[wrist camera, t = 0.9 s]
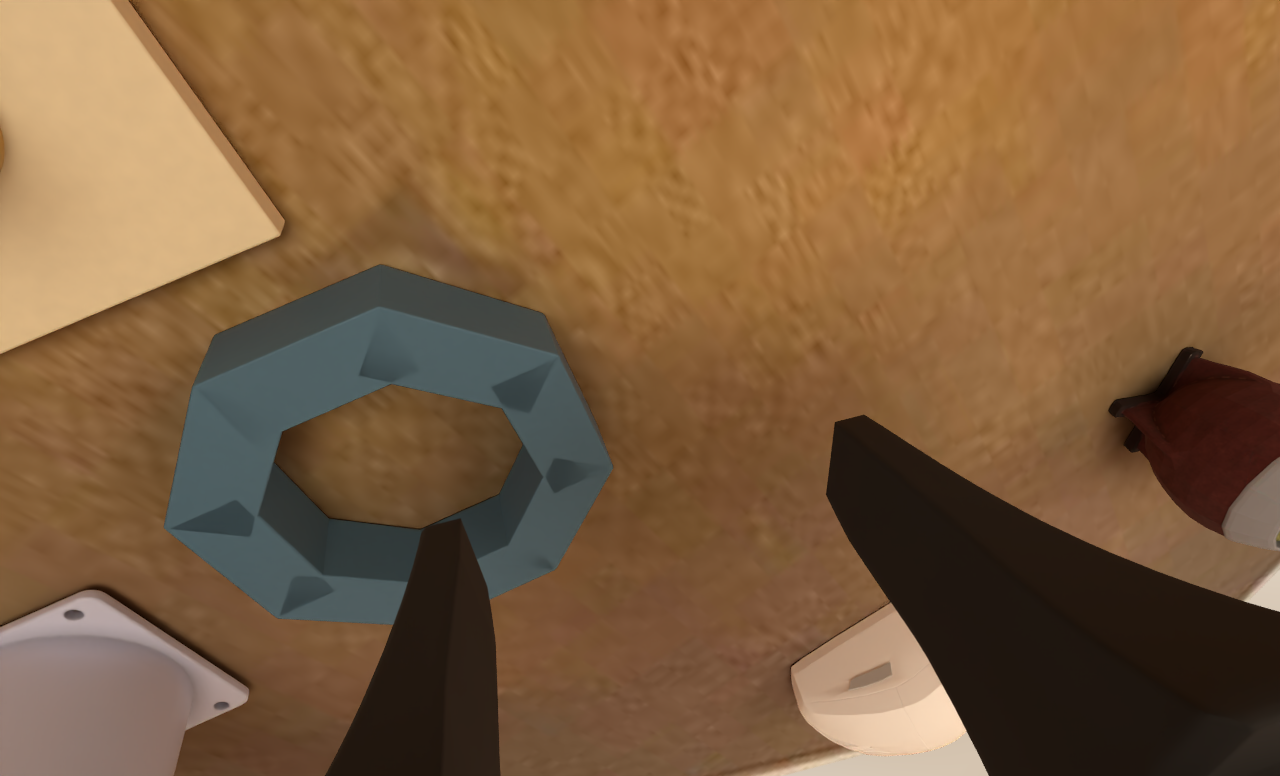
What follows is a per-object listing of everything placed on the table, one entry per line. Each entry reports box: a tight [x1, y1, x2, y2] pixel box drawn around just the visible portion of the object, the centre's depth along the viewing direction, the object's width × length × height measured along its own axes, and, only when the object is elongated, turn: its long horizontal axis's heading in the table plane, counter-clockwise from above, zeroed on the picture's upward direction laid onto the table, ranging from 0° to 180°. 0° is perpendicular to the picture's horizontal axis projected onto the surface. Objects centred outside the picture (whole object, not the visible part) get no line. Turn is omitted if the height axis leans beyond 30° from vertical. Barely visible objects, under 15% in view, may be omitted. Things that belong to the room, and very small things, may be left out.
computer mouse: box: [791, 603, 967, 756], centre depth 37 cm, size 6×13×6 cm, turn 121°
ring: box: [164, 265, 613, 625], centre depth 21 cm, size 12×12×3 cm
